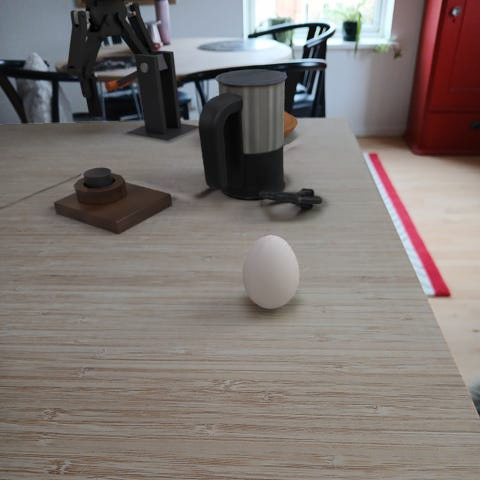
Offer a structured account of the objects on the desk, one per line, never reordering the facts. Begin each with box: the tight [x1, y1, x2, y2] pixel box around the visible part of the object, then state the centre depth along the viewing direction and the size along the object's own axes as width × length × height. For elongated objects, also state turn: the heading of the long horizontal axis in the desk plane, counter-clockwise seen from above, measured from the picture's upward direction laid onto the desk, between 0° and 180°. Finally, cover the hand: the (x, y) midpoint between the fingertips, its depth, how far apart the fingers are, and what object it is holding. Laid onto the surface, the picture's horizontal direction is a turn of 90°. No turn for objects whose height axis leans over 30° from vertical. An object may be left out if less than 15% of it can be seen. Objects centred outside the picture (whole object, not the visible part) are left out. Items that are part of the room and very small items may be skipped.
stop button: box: [83, 166, 113, 188], centre depth 68 cm, size 4×4×2 cm
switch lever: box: [104, 54, 167, 92], centre depth 91 cm, size 13×5×2 cm, turn 55°
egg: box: [242, 234, 300, 310], centre depth 48 cm, size 5×5×7 cm
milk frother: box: [198, 68, 323, 210], centre depth 66 cm, size 14×16×15 cm
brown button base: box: [53, 172, 173, 235], centre depth 68 cm, size 12×10×4 cm
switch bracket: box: [127, 49, 199, 142], centre depth 91 cm, size 10×9×14 cm
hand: (122, 107), depth 98 cm, fingers open, 13 cm apart
